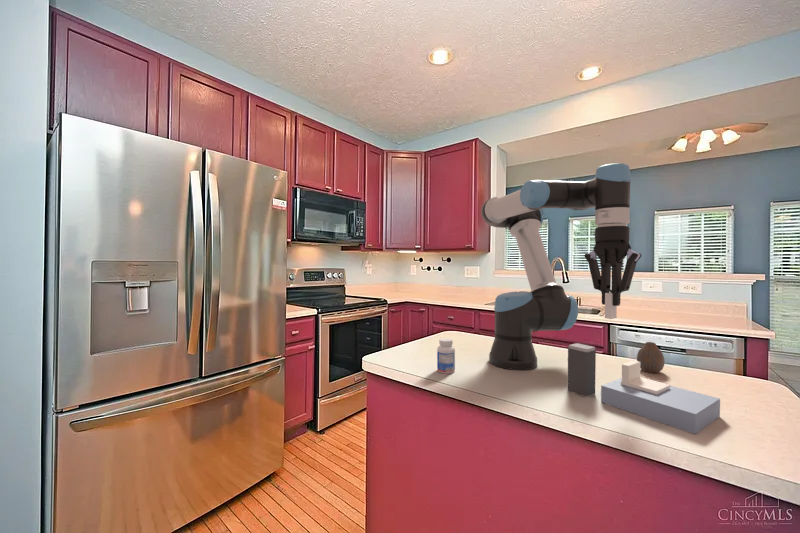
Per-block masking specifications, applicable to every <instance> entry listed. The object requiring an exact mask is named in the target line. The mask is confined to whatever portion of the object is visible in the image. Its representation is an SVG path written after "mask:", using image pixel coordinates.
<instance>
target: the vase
mask: <svg viewBox="0 0 800 533" xmlns="http://www.w3.org/2000/svg"><path fill="white" fill-rule="evenodd" d="M636 361H639V362H641V364H640V370H641V371H643V372H645V373H649V374H658V373H660V372H661V371H663V369H664V367H665V363H666V362H665V355H664V353H663V352H662V351H661V349H659V347H658V346H657V343H655V342H653V341H652V342H651V341H646V342H645V343H644V345H643V346H642V347H640V349H639V350H638V351H637V355H636Z"/></svg>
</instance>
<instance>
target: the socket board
mask: <svg viewBox="0 0 800 533" xmlns="http://www.w3.org/2000/svg"><path fill="white" fill-rule="evenodd" d="M621 381H622V377H621V378H617V379H615V380H612V381H610V382H607V383H605V384H602V385H600V386H601V388H600V402H601V403H603V404H606V405H609V406H612V407H614V408H618V409H621V410H623V411H626V412H628V413H629V412H630V413H632V414H636V415H638V416H640V417H644V418H647V419H650V420H652V421H656V422H658V423H661V424H664V425H667V426H670V427H673V428H676V429H678V430H680V431H681V430H682V431H685V432H688V433H691V434H693V435H696V434H698V433H699V432H701V431H702V430H703V429H705V428H706V427H708V426H709V425H711V424H712V423H713V422H714V421H716V420H718V419H719V418H720V417H721V398H719V397H715V396H712V395H708V394H703V393H701V392H696V391H692V390H688V389H684V388H681V387H676V386H673V385H670V389H668V390H666V391H663V392H661V393H659V394H657V395H656V394H653V393H649V392H646V391H642V390H639V389H635V388H632V387H628V386H625V385H621Z"/></svg>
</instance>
